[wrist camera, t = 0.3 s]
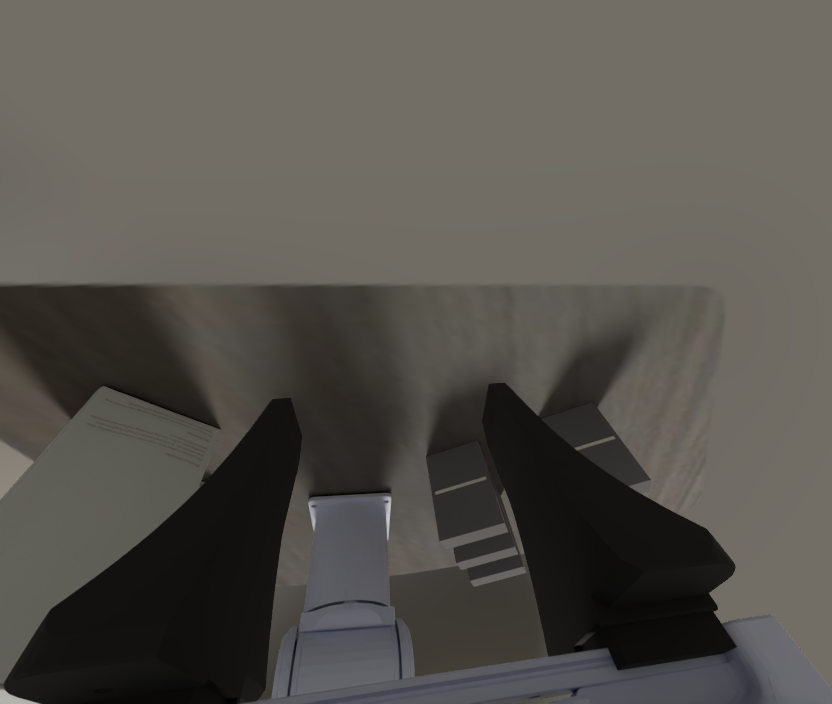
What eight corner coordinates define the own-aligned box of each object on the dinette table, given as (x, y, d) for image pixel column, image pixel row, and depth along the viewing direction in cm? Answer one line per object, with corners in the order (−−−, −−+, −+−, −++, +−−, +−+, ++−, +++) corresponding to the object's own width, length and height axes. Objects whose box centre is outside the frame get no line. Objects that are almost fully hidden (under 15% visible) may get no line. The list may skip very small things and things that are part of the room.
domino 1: (482, 450, 31) (508, 532, 25) (431, 466, 32) (446, 550, 26) (477, 439, 30) (504, 522, 24) (425, 456, 31) (439, 541, 25)
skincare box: (76, 428, 24) (-201, 738, 12) (105, 378, 22) (-200, 698, 10) (196, 467, 28) (72, 730, 16) (230, 429, 26) (115, 701, 14)
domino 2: (492, 475, 34) (518, 554, 28) (445, 489, 35) (461, 570, 29) (488, 465, 33) (514, 546, 27) (440, 480, 34) (456, 562, 28)
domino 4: (593, 413, 30) (649, 491, 24) (538, 431, 31) (579, 511, 25) (592, 401, 29) (650, 479, 23) (536, 419, 30) (578, 500, 24)
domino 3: (501, 496, 37) (526, 573, 31) (457, 509, 37) (474, 586, 31) (497, 488, 36) (523, 566, 30) (453, 501, 36) (469, 580, 30)
